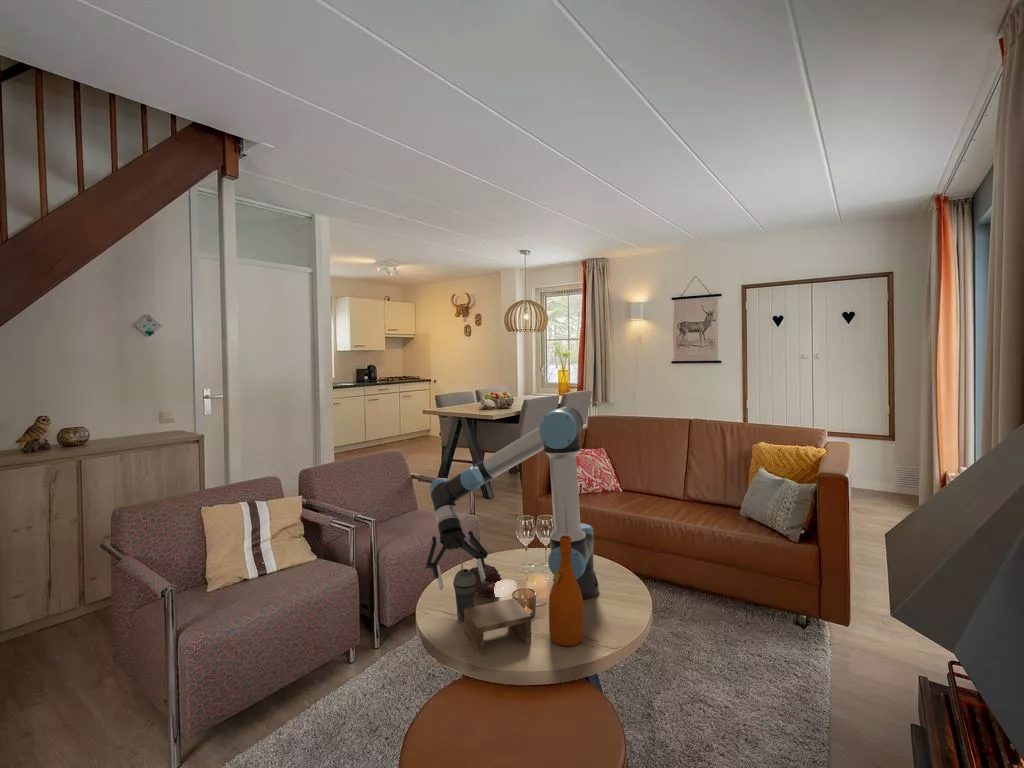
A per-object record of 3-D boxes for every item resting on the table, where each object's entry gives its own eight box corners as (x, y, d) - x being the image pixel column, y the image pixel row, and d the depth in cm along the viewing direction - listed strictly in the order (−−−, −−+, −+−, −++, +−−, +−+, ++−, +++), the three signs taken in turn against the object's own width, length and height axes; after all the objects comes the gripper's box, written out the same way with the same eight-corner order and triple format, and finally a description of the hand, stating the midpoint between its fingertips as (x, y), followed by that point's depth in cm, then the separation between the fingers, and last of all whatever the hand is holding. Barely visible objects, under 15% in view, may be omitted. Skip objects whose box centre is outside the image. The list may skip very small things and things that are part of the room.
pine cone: (459, 588, 180) (459, 561, 180) (483, 581, 186) (482, 554, 186) (487, 608, 166) (487, 577, 166) (512, 599, 172) (511, 570, 172)
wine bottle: (554, 627, 154) (554, 529, 152) (586, 633, 150) (586, 532, 149) (544, 644, 145) (543, 540, 143) (578, 651, 141) (578, 544, 140)
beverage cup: (473, 626, 155) (472, 561, 154) (450, 624, 156) (449, 559, 155) (479, 614, 162) (478, 552, 161) (457, 612, 164) (456, 551, 163)
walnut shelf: (514, 622, 157) (513, 598, 157) (531, 641, 146) (530, 615, 146) (464, 633, 151) (464, 608, 150) (478, 655, 140) (478, 628, 139)
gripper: (480, 522, 179) (497, 581, 166) (409, 532, 169) (421, 596, 156) (486, 511, 174) (503, 571, 161) (413, 521, 164) (425, 586, 151)
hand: (463, 583), depth 159 cm, fingers open, 13 cm apart
